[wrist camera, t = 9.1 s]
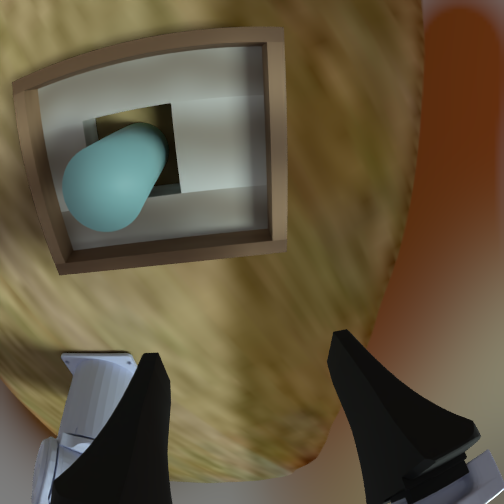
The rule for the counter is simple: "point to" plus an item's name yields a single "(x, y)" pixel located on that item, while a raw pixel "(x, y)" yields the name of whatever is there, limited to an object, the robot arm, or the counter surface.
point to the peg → (114, 177)
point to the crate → (186, 141)
